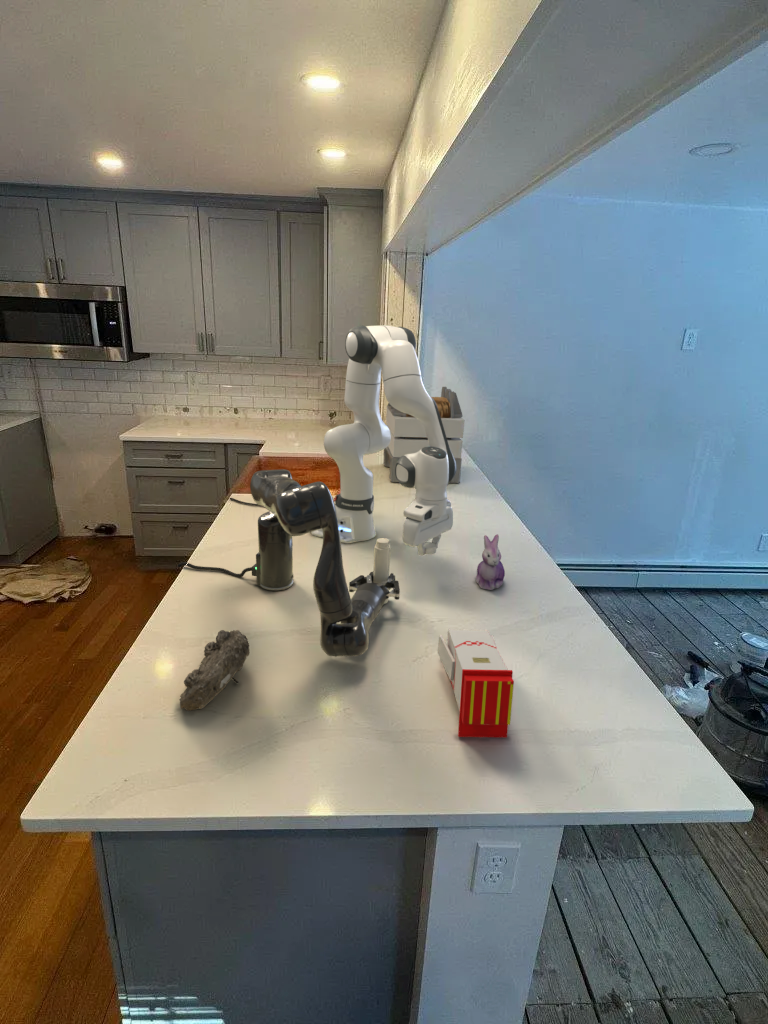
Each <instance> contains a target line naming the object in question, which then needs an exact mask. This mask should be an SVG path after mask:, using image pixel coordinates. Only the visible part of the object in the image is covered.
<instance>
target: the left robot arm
mask: <svg viewBox="0 0 768 1024" xmlns="http://www.w3.org/2000/svg"><path fill="white" fill-rule="evenodd" d="M249 489H250V494H251V497H252V499H253V501H254V502H255V504H258V505H262V506H261V507H263V506H264V508H266V510H267V512H264V513H262V514H261V515H259V516H258V519H257V538H258V540H257V541H258V542H257V544H258V552H257V553H255V564H253V565H251V567H246V568H244V569H242V570H241V572H240V573H235V572H232V571H230V570H228V569H226V568H223V567H216V566H200V565H195V564H192V563H189V562H187V561H181V562H179V563H178V564H177V566H176V567H177V568H181V567H182V566H186V567H189V568H191V569H194V570H201V571H215V572H222V573H225V574H227V575H229V576H231V577H235V578H242V577H243V576H245V574H246V573H248V572H251V576H252V577H256V586H258V587H260V588H262V589H264V590H266V591H271V592H272V591H273V592H278V591H279V592H280V591H284V590H287V589H289V588H291V587H292V586H293V585H294V580H295V579H294V577H295V576H294V561H293V560H294V559H293V558H294V557H293V555H294V554H293V537H301V536H305V535H307V534H310V533H311V532H313V531H316V530H319V529H322V530H323V537H322V546H321V551H320V554H319V558H318V561H317V565H316V567H315V571H314V575H313V581H312V582H313V583H312V587H313V593H314V594H313V595H314V597H315V600H316V604H317V607H318V611H319V617H320V618H319V619H320V636H319V645H320V648H321V650H322V651H323V653H325V655H327V656H329V657H358V656H362V655H363V654H364V653H366V652H367V650H368V648H369V642H370V640H369V639H370V638H369V637H370V636H369V635H370V628H371V626H372V624H373V622H374V621H375V620H376V618H377V617H378V616H379V614H380V613H381V610H382V608H383V606H384V605H385V604H384V602H385V600H386V599H388V600H389V598H391V597H392V598H394V600H400V595H401V594H400V592H401V590H400V583H399V581H398V580H396V575H395V574H394V572H390V573H389V577H388V579H387V580H386V581H385V580H384V581H382V582H381V583H374V582H373V571H370V572H369V574H367V575H366V576H365V575H361V574H360V575H359V576H357V577H355V578H354V579H352V580H351V581H349V583H348V584H347V580H346V575H345V569H344V561H343V551H342V542H340V534H339V526H338V519H337V512H336V507H335V501H334V497H333V495H332V493H331V491H330V489H329V487H328V486H327V485H326V484H325V483H324V482H323V481H320V480H319V481H314V482H311V483H308V484H304V485H301V483H299V482H298V481H297V480H295V479H293V476H292V473H291V471H290V470H288V469H283V468H282V469H281V468H280V469H263V470H257V471H255V472H253V474H252V476H251V478H250V484H249ZM187 563H188V564H187ZM186 564H187V565H186ZM391 589H392V590H391ZM350 593H354V594H353V595H352V596H351V595H350Z"/></svg>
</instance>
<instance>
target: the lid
mask: <svg viewBox="0 0 768 1024" xmlns="http://www.w3.org/2000/svg"><path fill="white" fill-rule="evenodd" d="M436 548H437V545H436V544H435V543H432V541H426V542H425V545H424V549H426V554H425V555H435V554H436V553H437V549H438V548H437V549H436Z"/></svg>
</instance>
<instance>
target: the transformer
mask: <svg viewBox="0 0 768 1024" xmlns="http://www.w3.org/2000/svg"><path fill="white" fill-rule="evenodd" d="M440 393H441V394H440V396H431V397H432V398H433V399H434V401H435V402H436V405H437V407H438V410H439V413H440V417H441V420H442V424H443V427H444V430H445V434H446V437H447V441H448V444H449V447H450V450H451V452H452V454H453V456H454V459H455V461H456V465H457V470H456V474H455V476H454V478H453V479H452V480H451V482H450V483H449V484H455V483H456V484H459V483H461V472H462V461H463V460H462V453H463V442H464V441H463V440H462V439H463V438H464V431H465V430H464V429H465V419H464V418H463V411H462V408H461V405H460V402H459V398H458V395H457V392H455V391H453V390H452V389H451V388H447V386H442V387H441V392H440ZM385 414H386V415H385V424H386V425H387V426H388V428H389V430H390V433H391V440H390V444H389V445H388V447H387V448H385V449H383V466H384V467H388V468H389V475H388V476H389V477H388V478H389V480H390V482H391V483H399V482H398V480H397V479H396V475H395V467H396V463H397V461H398V459H399V458H400V457H401V456H403V455H406V454H412V453H416V452H419V451H420V449H422V448H424V447H428V446H430V445H429V442H428V438H427V435H426V431H425V428H424V426H423V424H422V423H421V421H419V420H418V419H417V418H415V417H413V416H411V415H409V414H406V413H403V412H400V411H398V410H397V409H395V408H394V407H392V406H391V405H390V404H389V402H388V404H387V405H386V413H385Z"/></svg>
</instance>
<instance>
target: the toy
mask: <svg viewBox="0 0 768 1024" xmlns="http://www.w3.org/2000/svg"><path fill="white" fill-rule="evenodd" d="M446 640H447V643H446V641H445V639H444V636H443V635H442V634H439V637H438V646H437V656H438V657H439V659H440V661H441V663H442V666H443V668H444V670H445V672H446V674H447V677H448V679H449V681H450V684H451V687H452V690H453V693H454V697H455V701H456V705H457V708H458V711H459V714H458V715H459V716H458V730H457V731H458V732H457V737H458V738H508V731H509V726H510V725H511V717H512V707H513V697H514V696H513V695H514V684H515V680H514V679H513V673H514V671H513V670H512V669H508V667H507V665H506V662H505V661H504V659H503V658H502V655H501V653H500V651H499V649H498V647H497V643H496V639H495V637H494V635H493V634H491V632H490V631H489V629H467V628H466V629H465V628H463V629H461V628H460V629H459V628H448V630H447V639H446Z"/></svg>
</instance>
